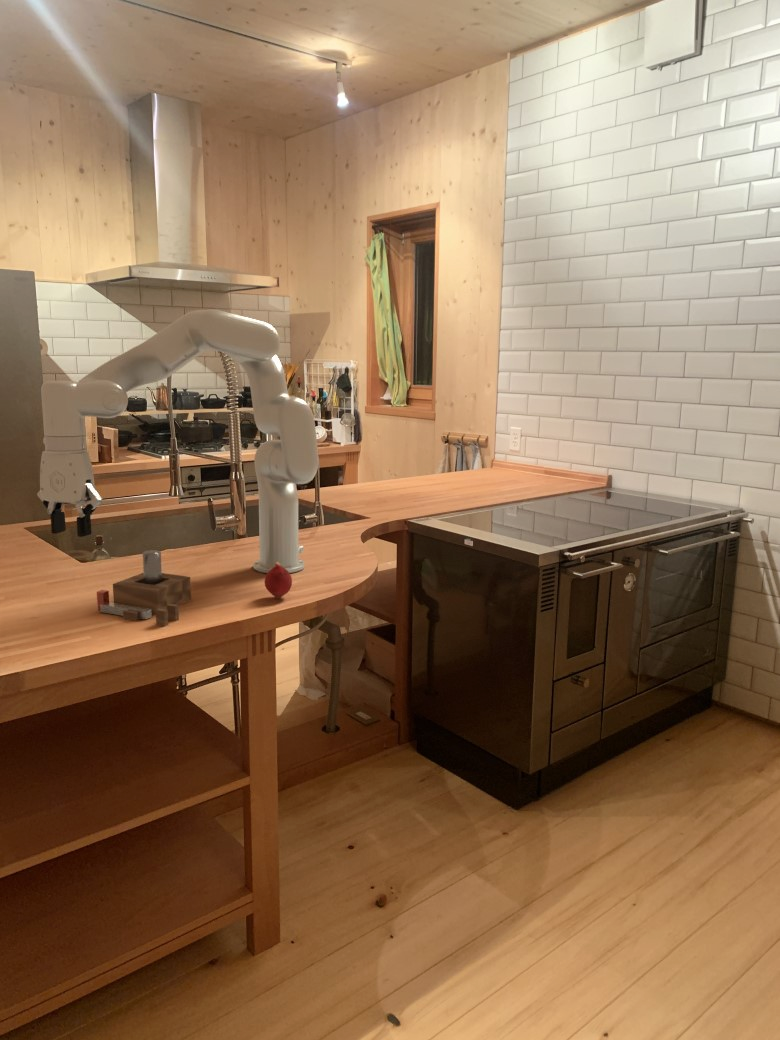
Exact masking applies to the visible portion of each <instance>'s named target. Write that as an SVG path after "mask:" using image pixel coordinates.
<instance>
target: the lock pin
mask: <svg viewBox="0 0 780 1040" xmlns="http://www.w3.org/2000/svg"><path fill="white" fill-rule="evenodd" d="M96 600H97V601H96V602H97V612H100V613H103V614H110V615H111V614H112V615H117V616H122V617H123V611H125V610H128V611H134V612H138V619H141V620H147V619H150V618H153V617H152V616H153V615H152V613H151V609H148V608H142V607H135V606H129V605H123V604H116V603H114V602H110V593H109V590H106V589H101V590H98V591H96Z"/></svg>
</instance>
